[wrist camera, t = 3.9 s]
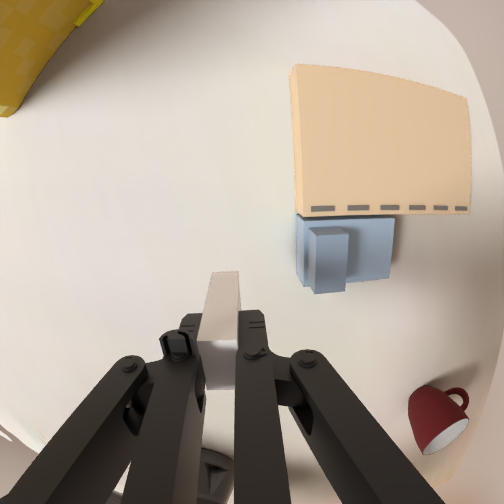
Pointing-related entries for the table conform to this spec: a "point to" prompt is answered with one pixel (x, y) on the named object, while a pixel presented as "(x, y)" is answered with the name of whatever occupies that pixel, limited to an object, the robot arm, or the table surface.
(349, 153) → the board
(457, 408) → the mug
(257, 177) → the table surface
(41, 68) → the book
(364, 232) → the stub
